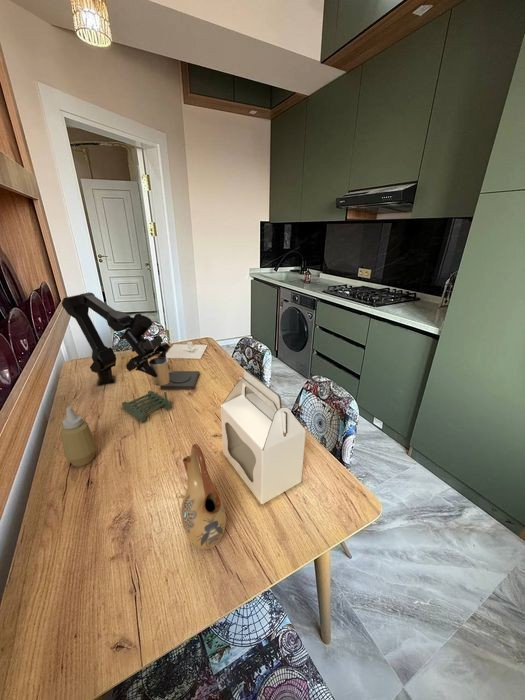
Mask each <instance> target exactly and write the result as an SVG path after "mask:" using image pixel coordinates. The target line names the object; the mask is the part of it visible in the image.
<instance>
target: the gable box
mask: <svg viewBox="0 0 525 700" xmlns="http://www.w3.org/2000/svg"><path fill="white" fill-rule="evenodd" d="M220 419H221V420H220V421H221V422H220V423H221V439H222V440H221V441H222V454H223V455H224V456H225V458H226V459H227V460H228V462H229V463H230V464H231V465H232V467H233V468H234V470H235V471H236V472H237V474H238V475H239V476H240V478H241V479H242V480H243V482H244V483H245V484H246V486H247V487H248V489H249V490H250V492H252V494H253V495H254V497H255V498H256V500H257V501H258V502H259V503H260V505H263V504H265V503H267V502H269V501H271V500H273V499H274V498H276V497H278V496H279V495H282V493H285V492H286V491H288V490H290V489H292V488H294V487H295V486H297V485H298V484H301V483H302V478H303V467H304V457H305V455H304V454H305V443H306V433H307V429H305V428H304V427H303V425H302V424H301V423H300V421H299V420H298V419H297V417H296V416H295V415H294V414H293V413H292V411H291V409H289V408H288V407H285V406H282V398H281V395H280V394H279V393H277V391H275V390H273V389H272V388H271V387H269V386H268V385H267V384H266V383H264V382H263V381H261V380H260V379H259V378H257V377H256V376H255V375H253V374H252V372H249V370H245V371H244V372H243V376H242V375H239V380H238V381H237V382H236V383H235V385H234V386H233V387H232V389H231V390H230V391H229V393H228V394H227V396H226V398H225V399H224V401H223V402H222V403H221V404H220ZM284 434H285V435H284Z"/></svg>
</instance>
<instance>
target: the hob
mask: <svg viewBox="0 0 525 700" xmlns="http://www.w3.org/2000/svg"><path fill="white" fill-rule="evenodd" d="M169 376H170V382H169V383H168V384H166V385H162V386H159V387H160V390H194V389H195V387H196V384H197V381H198V379H199V376H200V371H199V370H195V371H194V370H169Z"/></svg>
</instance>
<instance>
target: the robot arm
mask: <svg viewBox="0 0 525 700" xmlns="http://www.w3.org/2000/svg"><path fill="white" fill-rule="evenodd" d="M61 306H62V308H63V309H64V310H65V312H66V313H67V315H69V316H70V317H71V318H74V319H75V321H76V323H77V324H78V326H79V328H80V330H81V332H82V333H83V336H84V337H85V339H86V341H87V343H88V345H89V347H90V348H91V350H92V352H91V360H92V363H91V365H90V366H89V369H90V371H91V372H92V373H95V374H97V385H98V386H105V385H108V384H113V383H116V381H115V375H114V374H113V370H112V368H113V367H116V365H117V354H116V353H115V352H114V350H113V348H112V347H108V346H106V345H105V343H104V342H103V340H102V337H101V335H100V333H99V332H98V330H97V328H96V326H95V325H94V323H93V321H92V319H91V317H90V315H89V311H90V309H91V310H92V311H93V312H95V314H97V315H99V316H100V317H101V318H103V319H104V320H105V321H106V323H107V326H108V327H109V328H111V329H112V331H114V332H116V333H119V332H121V333H120V341H124V340H125V341H126V342H127V343H128V344H129V346H130V347H131V352H132V353H134V352H135V353H136V354H137V355H136V356H133V357H132V358H130V359H129V361H128V362H127V363H126V364H125V367H126V369H127V371H128V372H132V371H134V370H135V371H139V372H142V373H144V374H147V375H149V376H150V377H152V376H153V377H155V378H156V377H157V374H156V373H155V372H154V370H153V369H152V368H151V367H150V364H149V359H152V358H153V357H155V358H159V357H163V358H166V353H167V352H168V351H169V350H170V348H171V346H170V345H169V343H168V342H164V340H163V338H162V336H161V335H160V334H156V335H154V336H153V337H152V338H153V339H151V340H150V339H149V338H148V337H147V338H145V337H144V336H145V335H146V333H147V332H148V331H149V330H150V328H151V327H152V325H153V321H152V319H151V318H150V317H148V316H147V315H142V313H141V312H140V313H136V314H134V316H133V317H132V316H131V315H129V314H128V313H126V312H124V311H120V310H116V309H114V308H113V307H111V306H110V305H108V304H107V303H105V302H104V301H102V300H101V299H100V298H98V297H97V296H96V295H95V294H94V293H93V292H85V293H84V292H83V293H80V294H75V295H71V296H66V297H63V298H62V302H61ZM122 331H123V332H122ZM163 342H164V343H163ZM168 367H169V370H170V365H169V364H168Z"/></svg>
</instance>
